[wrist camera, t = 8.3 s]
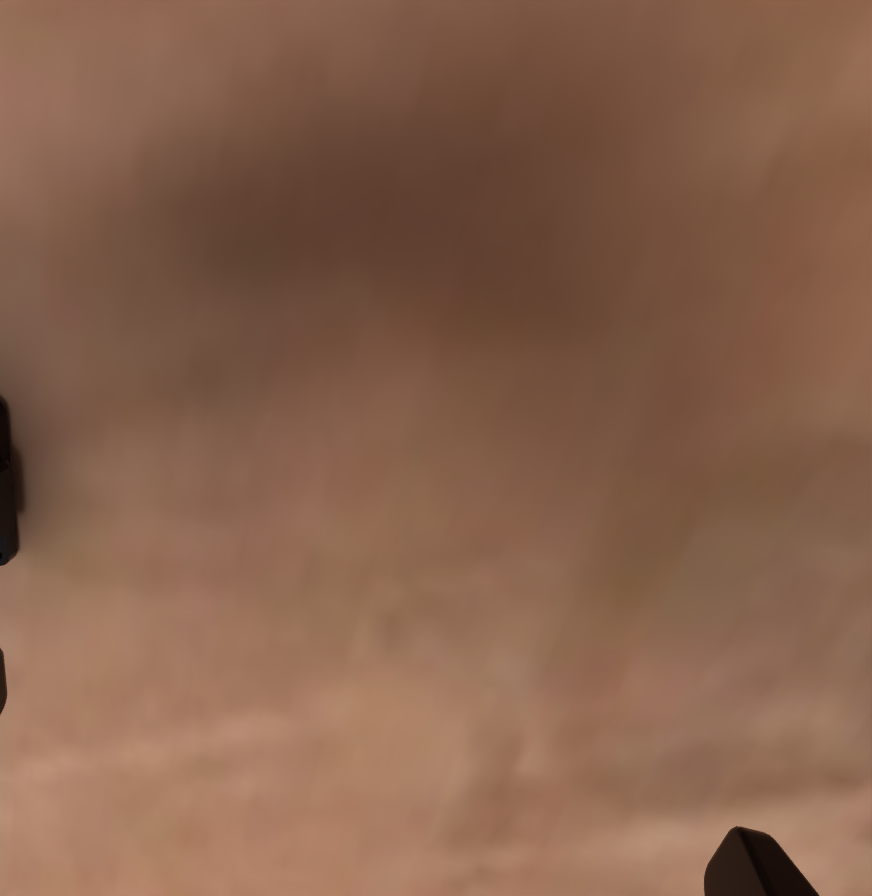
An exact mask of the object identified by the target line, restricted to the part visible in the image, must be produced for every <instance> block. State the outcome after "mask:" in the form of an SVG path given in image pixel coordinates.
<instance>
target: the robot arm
mask: <svg viewBox="0 0 872 896" xmlns="http://www.w3.org/2000/svg"><path fill="white" fill-rule="evenodd" d="M16 552H17V548H16V535H15V514H14V501H13V488H12V475H11V467H10V457H9V444H8V432H7V419H6V411H5V407H4V406H3V404H2V403H1V401H0V566H2V565H5V564H7V563H8V562H9V561H10V560H12V559H13V558H14V557H15V556H16ZM6 699H7V684H6V674H5V664H4V654H3V651H2V650H1V648H0V714H1V713H2V711H3V708H4V706H5V703H6ZM704 892H705V896H819V894H818V893H817V892H816V891H815V889H814V888H813V887H812V886H811V884H810V883H809V882H808V880H807V879H806V878H805V877H804V875H803V874H802V873H801V872H800V870H799V869H798V868H797V867H796V865H795V864H794V863H793V862H792V860H791V859H790V858H789V857H788V855H787V854H786V853H785V852H784V850H783V849H782V848H781V847H780V845H779V844H778V843H777V842H776V841H775V840H774V839H773V838H772V837H771V836H770V835H768V834H766V833H764V832H760V831H756V830H752V829H748V828H744V827H737V826H736V827H734V828H732V829H731V830H730V831H729V832H728V833H727V835H726V837H725V838H724V840H723V841H722V843H721V844H720V846H719V847H718V849H717V851H716V852H715V854H714V855H713V857H712V858H711V860H710V862H709V863H708V865H707V868H706V871H705V876H704Z"/></svg>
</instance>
